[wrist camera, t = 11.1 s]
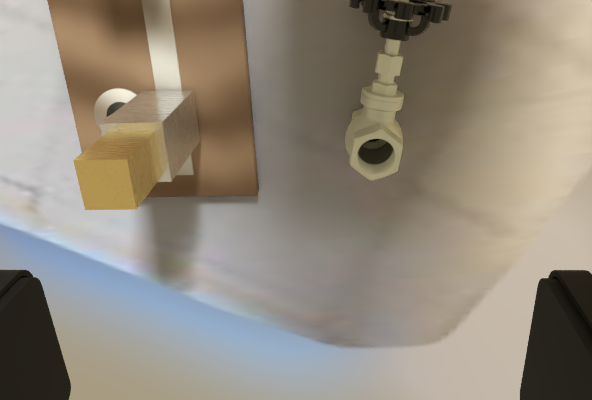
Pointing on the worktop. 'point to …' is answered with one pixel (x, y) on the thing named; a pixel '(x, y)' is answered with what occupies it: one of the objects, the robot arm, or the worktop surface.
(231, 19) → the bolt plate
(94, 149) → the block
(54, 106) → the worktop surface
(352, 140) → the valve
